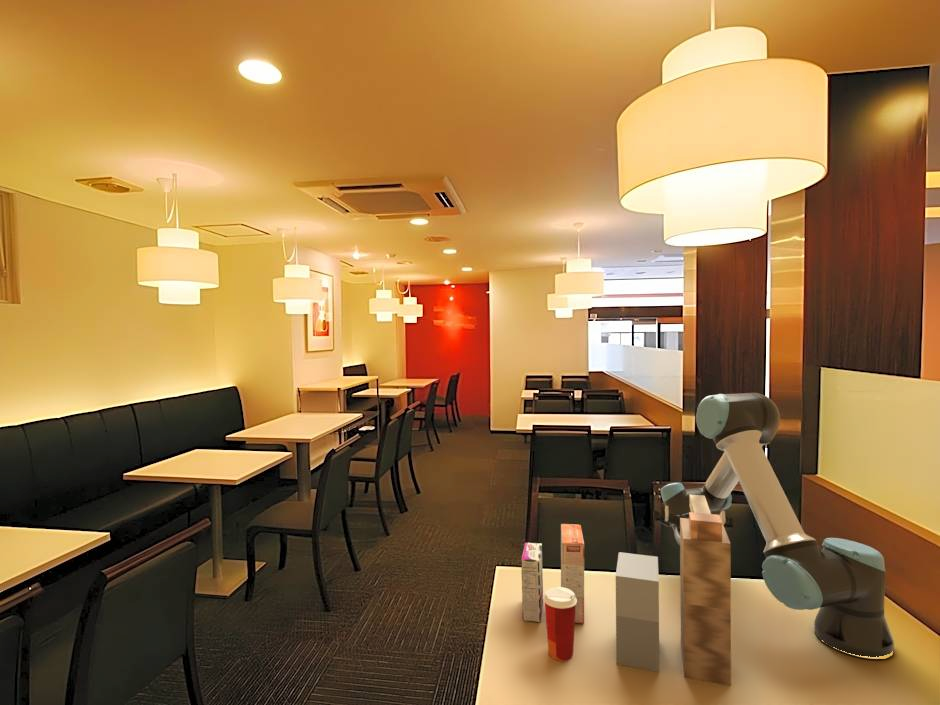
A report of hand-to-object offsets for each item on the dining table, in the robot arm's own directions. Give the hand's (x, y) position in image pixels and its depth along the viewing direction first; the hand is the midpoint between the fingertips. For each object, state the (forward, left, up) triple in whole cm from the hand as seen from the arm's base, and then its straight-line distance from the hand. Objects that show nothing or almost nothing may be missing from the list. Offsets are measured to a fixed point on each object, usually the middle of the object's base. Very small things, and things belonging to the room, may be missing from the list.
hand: (694, 513), depth 132 cm
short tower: (+14, +21, -27) cm, 37 cm away
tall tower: (0, +21, -27) cm, 34 cm away
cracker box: (+31, +8, -27) cm, 42 cm away
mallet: (0, +16, +3) cm, 16 cm away
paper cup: (+31, +28, -27) cm, 49 cm away
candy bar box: (+41, +12, -27) cm, 50 cm away
